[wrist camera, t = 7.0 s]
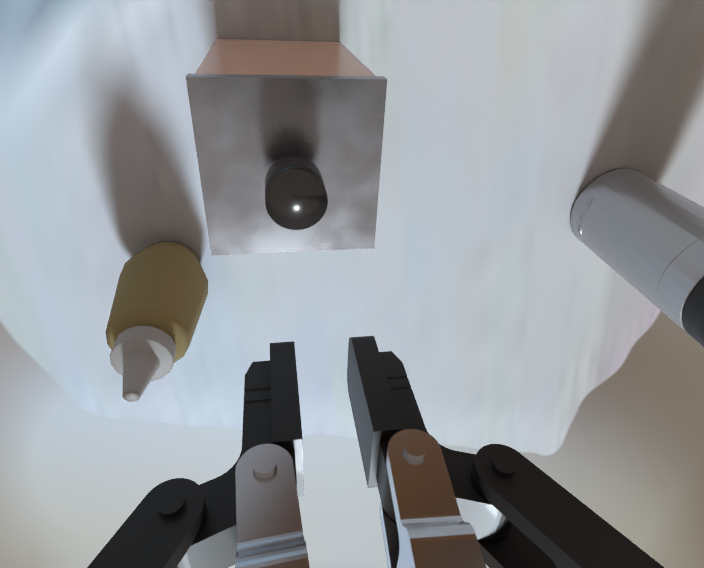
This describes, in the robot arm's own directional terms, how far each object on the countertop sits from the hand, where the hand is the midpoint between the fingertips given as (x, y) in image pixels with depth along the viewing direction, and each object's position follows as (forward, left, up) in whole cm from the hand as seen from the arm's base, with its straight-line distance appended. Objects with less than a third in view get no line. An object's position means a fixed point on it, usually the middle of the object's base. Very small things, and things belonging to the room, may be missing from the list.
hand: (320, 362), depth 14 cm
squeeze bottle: (+12, +16, -33) cm, 39 cm away
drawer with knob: (0, 0, -32) cm, 32 cm away
